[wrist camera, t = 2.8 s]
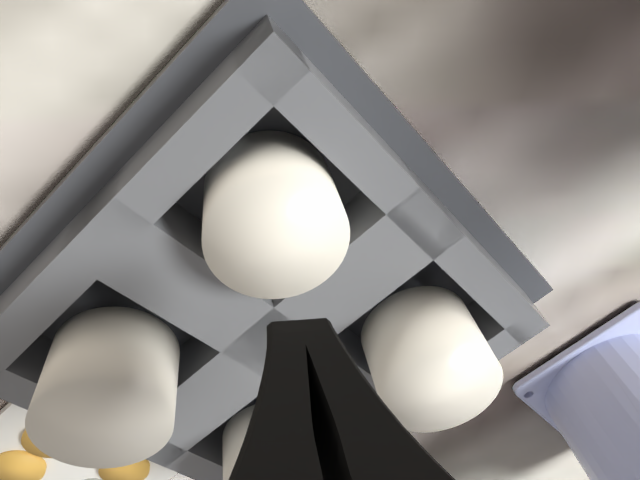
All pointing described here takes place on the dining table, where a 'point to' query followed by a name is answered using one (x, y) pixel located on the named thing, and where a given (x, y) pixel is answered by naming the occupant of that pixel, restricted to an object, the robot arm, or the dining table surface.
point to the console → (187, 211)
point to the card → (52, 475)
